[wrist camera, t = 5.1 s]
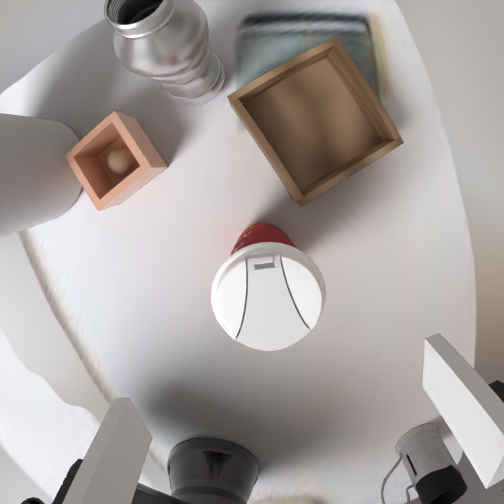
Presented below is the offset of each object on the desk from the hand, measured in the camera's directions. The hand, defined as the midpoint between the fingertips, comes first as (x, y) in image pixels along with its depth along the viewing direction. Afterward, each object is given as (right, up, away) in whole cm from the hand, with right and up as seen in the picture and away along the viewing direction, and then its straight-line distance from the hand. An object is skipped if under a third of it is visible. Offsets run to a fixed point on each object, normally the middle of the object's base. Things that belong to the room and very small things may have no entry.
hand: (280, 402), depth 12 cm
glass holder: (+26, -28, +33) cm, 51 cm away
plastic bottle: (-7, +25, +19) cm, 32 cm away
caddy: (+5, +20, +20) cm, 29 cm away
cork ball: (-15, +16, +21) cm, 30 cm away
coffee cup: (0, +6, +24) cm, 25 cm away
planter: (-15, +16, +21) cm, 31 cm away
